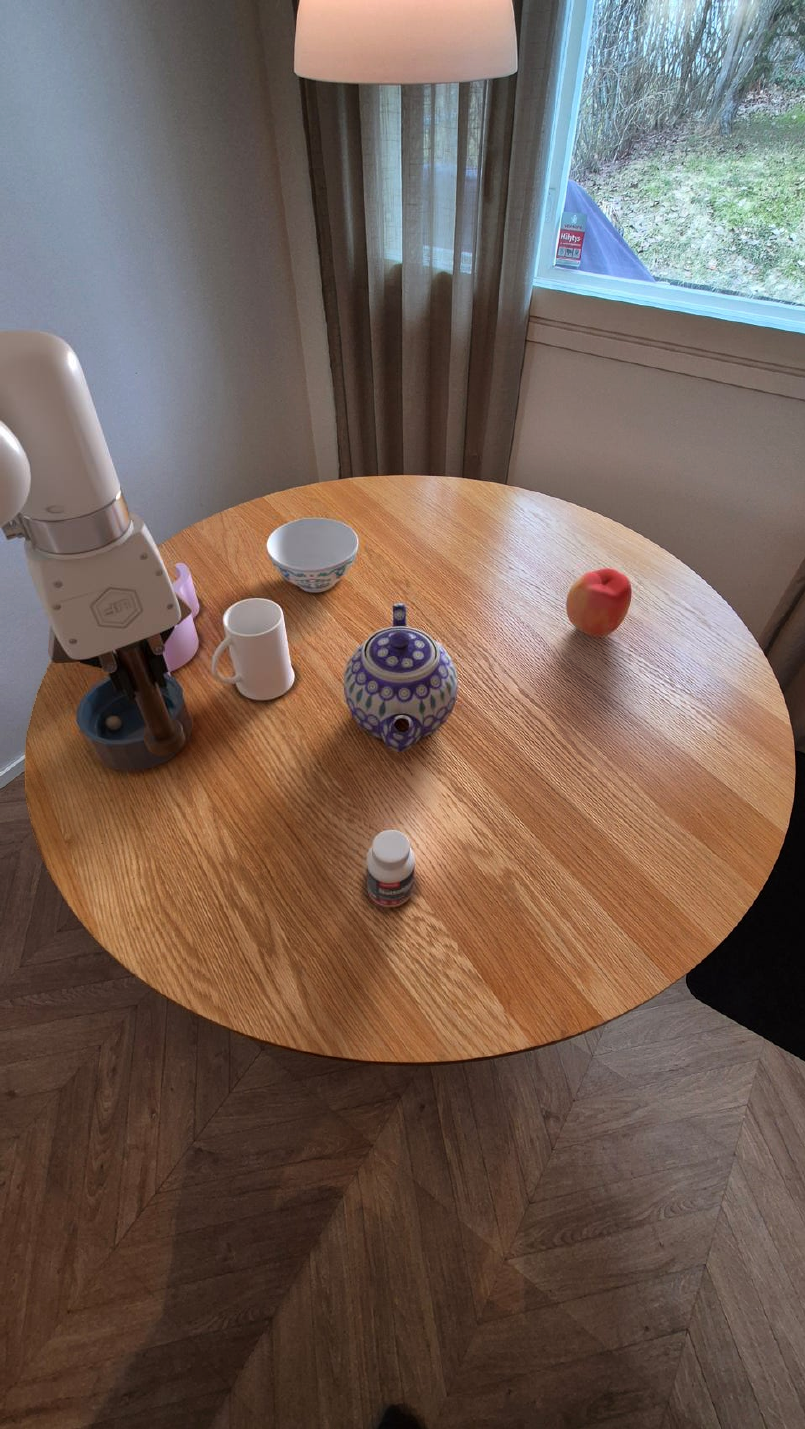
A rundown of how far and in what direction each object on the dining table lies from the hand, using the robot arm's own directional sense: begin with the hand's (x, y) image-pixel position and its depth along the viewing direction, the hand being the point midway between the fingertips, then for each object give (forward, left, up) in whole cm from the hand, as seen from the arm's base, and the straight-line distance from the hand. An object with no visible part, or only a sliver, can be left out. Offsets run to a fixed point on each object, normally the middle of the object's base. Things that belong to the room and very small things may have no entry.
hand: (143, 684), depth 64 cm
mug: (+16, +17, -23) cm, 33 cm away
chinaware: (+36, +34, -23) cm, 55 cm away
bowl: (-1, +17, -23) cm, 29 cm away
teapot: (+30, 0, -23) cm, 38 cm away
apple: (+66, -2, -23) cm, 71 cm away
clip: (+9, +35, -23) cm, 43 cm away
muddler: (0, 0, -9) cm, 9 cm away
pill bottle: (+14, -21, -23) cm, 35 cm away
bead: (-3, +19, -22) cm, 29 cm away
